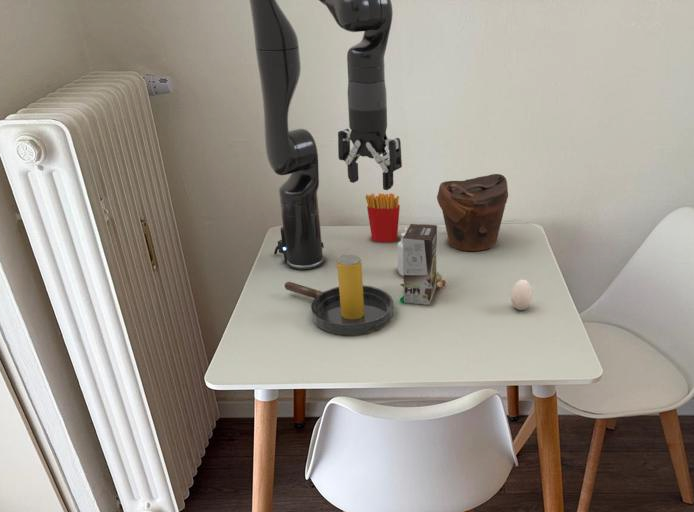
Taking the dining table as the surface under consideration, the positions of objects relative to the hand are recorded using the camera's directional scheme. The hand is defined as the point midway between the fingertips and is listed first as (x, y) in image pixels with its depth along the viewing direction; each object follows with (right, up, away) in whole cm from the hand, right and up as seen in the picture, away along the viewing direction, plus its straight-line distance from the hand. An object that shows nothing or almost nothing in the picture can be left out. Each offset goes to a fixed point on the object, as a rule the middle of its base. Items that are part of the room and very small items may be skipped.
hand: (370, 185), depth 137 cm
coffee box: (+11, -21, +18) cm, 30 cm away
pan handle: (-17, -21, +16) cm, 31 cm away
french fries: (+1, -3, +46) cm, 46 cm away
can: (-5, -26, +10) cm, 28 cm away
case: (+25, -5, +43) cm, 50 cm away
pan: (-5, -27, +10) cm, 29 cm away
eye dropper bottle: (+7, -15, +28) cm, 32 cm away
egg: (+33, -25, +12) cm, 44 cm away
